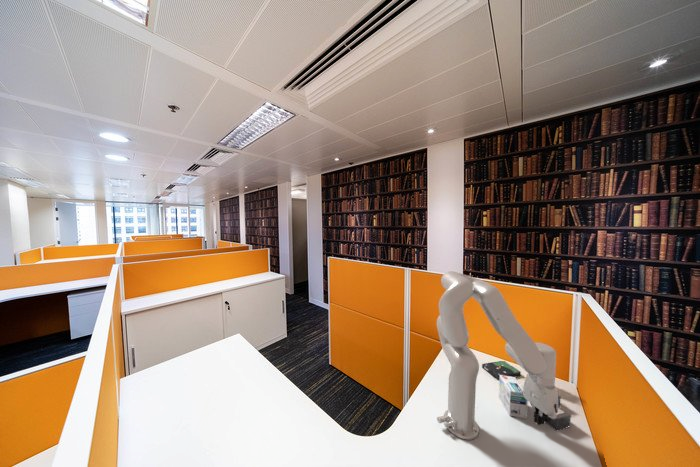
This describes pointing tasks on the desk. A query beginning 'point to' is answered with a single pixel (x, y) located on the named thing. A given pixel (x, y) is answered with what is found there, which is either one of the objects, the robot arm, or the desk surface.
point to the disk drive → (501, 369)
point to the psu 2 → (559, 420)
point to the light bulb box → (512, 396)
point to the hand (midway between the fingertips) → (538, 422)
